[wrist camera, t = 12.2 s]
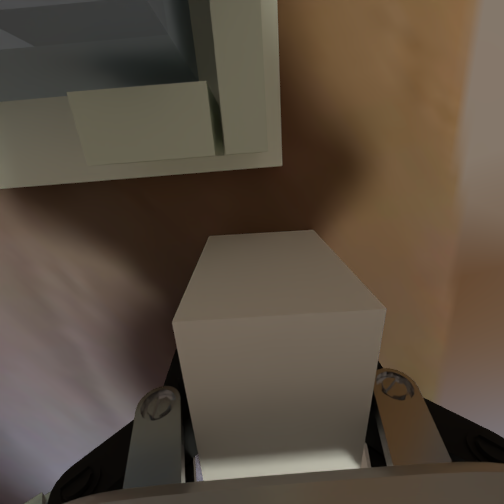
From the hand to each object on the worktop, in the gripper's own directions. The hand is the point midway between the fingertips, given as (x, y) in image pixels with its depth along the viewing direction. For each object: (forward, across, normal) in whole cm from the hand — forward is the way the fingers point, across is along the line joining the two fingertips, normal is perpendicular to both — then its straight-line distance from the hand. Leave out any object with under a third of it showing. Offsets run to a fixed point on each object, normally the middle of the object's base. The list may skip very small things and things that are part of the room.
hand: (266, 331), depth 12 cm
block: (+1, 0, 0) cm, 1 cm away
